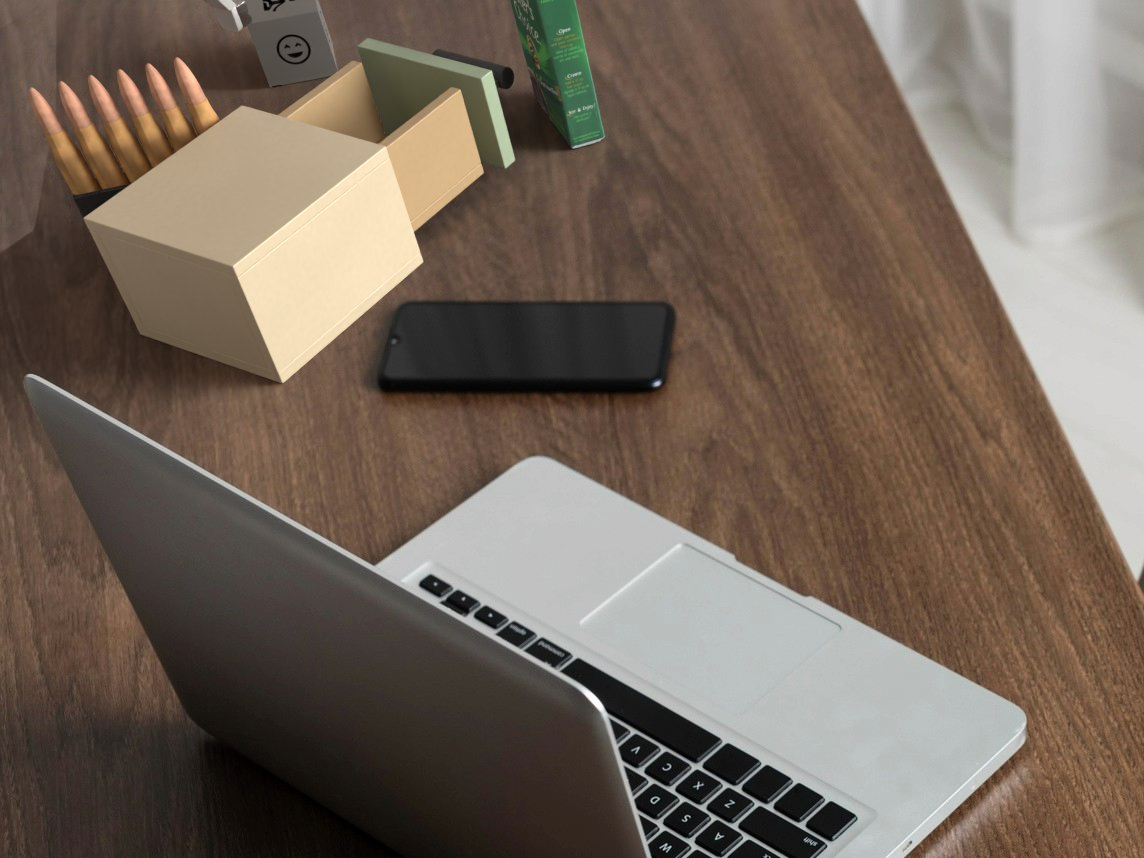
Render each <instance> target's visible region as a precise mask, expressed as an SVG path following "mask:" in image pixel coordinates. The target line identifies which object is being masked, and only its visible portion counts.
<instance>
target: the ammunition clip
mask: <svg viewBox="0 0 1144 858" xmlns="http://www.w3.org/2000/svg"><path fill="white" fill-rule="evenodd" d="M173 65H174V71H175V72H174V73H175V75H176V80H177V83H178V86H179V88H180V92H181V94H182V96H183V99H184V101H185V103H186V107H187V108H188V111H189V113H190V115H191V120H192V122H191V121H190V120H189V118H188V117H187V115H186V114H185V113H184V111H183V109H182V108H181V106H180V103H179V102H178V101H177V99H176V97H175V95H174V93H173V91H172V89H171V88H170V86H169V84H168V83H167V81H166V80H165V78H164V76H162V75H161V73H160V72H159V71H158V70H157V69H156V68H155V67H154V66H153V65H152V64H151V63H150V62H147V63H145V75H146V80H147V84H148V87H149V91H150V94H151V96H152V98H153V101H154V103H155V105H156V107H157V110H158V112H159V115H160V118H161V119H162V122H163V126H164V128H163V127H162V125H161V124H160V123H159V121H158V120H157V119H156V117H155V115H154V113H153V112H152V110H151V108H150V107H149V105H148V102H147V101H146V99H145V97H144V96H143V94H142V92H141V91H140V89H139V88H138V87H137V85H136V84H135V82H134V81H133V80H132V78H131V77H130V76H129V75H128V74H127V73H126V72H125V71H124V70H123V69H121V68H118V69H117V70H116V80H117V83H118V88H119V92H120V95H121V97H122V100H123V104H124V105H125V107H126V109H127V112H128V113H129V116H130V119H131V121H132V123H133V125H134V128H135V131H136V132H134V131H133V130H132V128H131V127H130V126H129V125H128V123H127V121H126V119H125V117H124V116H123V114H122V113H121V112H120V110H119V108H118V105H117V104H116V102H115V101H114V99H113V97H112V96H111V95H110V93H109V92H108V90H107V89H106V88H105V86H104V85H103V84H102V82H100V81H99V80H98V79H97V78H96V77H95V76H93V74H89V75H88V76H87V83H88V88H89V94H90V97H91V100H92V102H93V105H94V107H95V110H96V112H97V114H98V116H99V118H100V120H101V123H102V125H103V127H104V130H105V132H106V135H107V138H108V141H109V142H108V141H107V139H106V138H105V137H104V135H103V134H102V133H101V132H100V130H99V129H98V127H97V125H96V123H95V122H94V120H93V119H92V117H91V116H90V114H89V112H88V111H87V109H86V107H85V105H84V103H82V101H81V99H80V97H78V95H77V94H76V93H75V92H74V91H73V89H71V88H70V86H68V85H67V83H66V82H64V81H62V80H59V81H58V84H57V85H58V93H59V96H60V101H61V103H62V107H63V108H64V111H65V114H66V116H67V118H68V120H69V122H70V125H71V127H72V129H73V132H74V134H75V136H76V138H77V141H78V143H79V145H77V144H76V142H75V141H74V140H73V139H72V137H71V136H70V134H69V133H68V131H67V129H66V128H65V126H64V125H63V124H62V122H61V120H60V118H59V116H58V115H57V114H56V112H55V109H53V107H52V106H51V105H50V104H49V102H48V101H47V100H46V98H45V97H44V96H43V95H42V94H41V93H40V92H39V91H37V89H35V87H32V86H29V88H28V97H29V101H30V102H29V103H30V105H31V108H32V111H33V114H34V117H35V119H36V121H37V124H38V125H39V127H40V129H41V131H42V134H43V136H44V138H45V140H46V142H47V145H48V146H49V150H50V153H51V156H52V158H53V160H54V162H55V164H56V166H57V167H58V169H59V171H60V173H61V175H62V177H63V179H64V180H65V182H66V184H67V186H68V188H69V190H70V191H71V193H72V199H73V201H74V204H75V205H76V208H77V209H78V212H79V214H80V216H81V217H82V220H83V222H84V224H85V226H86V228H87V230H88V232H89V234H90V236H91V238H92V240H93V242H94V244H95V246H96V248H97V250H98V252H99V254H100V256H101V258H102V260H103V263H104V264H105V265H106V263H105V261H104V259H103V257H102V255H101V253H100V251H99V249H98V247H97V245H96V243H95V241H94V239H93V237H92V235H91V233H90V231H89V230H90V229H88V227H87V225H86V223H85V221H84V219H83V218H84V217H85V216H87V215H88V214H90V213H91V212H92V211H94V210H95V209H97V208H98V207H100V206H101V205H102V204H104V203H105V202H107V201H108V200H109V199H111V198H112V197H114V196H115V195H116V194H118V193H119V192H121V191H122V190H123V189H125V188H126V187H128V186H129V185H130V184H132V183H133V182H135V181H136V180H138V179H139V178H140V177H142V176H143V175H145V174H146V173H147V172H149V171H150V170H152V169H153V168H154V167H156V166H157V165H159V164H160V163H161V162H163V161H164V160H166V159H167V158H169V157H170V156H171V155H173V154H174V153H176V152H177V151H178V150H180V149H181V148H183V147H184V146H185V145H187V144H188V143H190V142H191V141H192V140H194V139H195V138H197V137H198V136H199V135H201V134H202V133H204V132H205V131H207V130H208V129H209V128H211V127H212V126H214V125H215V124H216V123H218V122H219V121H221V119H220V117H219V116H218V115H217V113H216V111H215V110H214V109H213V107H212V106H211V104H210V102H209V100H208V98H207V96H206V95H205V93H204V91H203V89H202V87H201V85H200V83H199V82H198V80H197V78H196V76H195V75H194V74H193V72H192V71H191V69H190V68H189V66H187V64H186V63H185V62H184V61H183V60H182V59H181V58H179V57H178V56H175V57H174V60H173ZM135 133H136V134H135ZM136 135H137V136H136ZM79 147H80V148H79Z"/></svg>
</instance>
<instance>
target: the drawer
mask: <svg viewBox="0 0 1144 858" xmlns="http://www.w3.org/2000/svg"><path fill="white" fill-rule="evenodd" d="M356 49H357V52H358V54H359V57H360V61H361V62H360V61H357V60H351V61H350V62H348V63H347V64H346V65H344V66H343V67H341V68H340V69H338V71H337V72H336V73H335V74H333V75H332V76H329V77H327V78H326V79H325V80H324V81H322V82H321V83H320V84H318V85H317V86H315V87H314V88H313V89H312V90H310V91H309V92H307V93H306V94H305V95H303V96H302V97H300V98H299V99H298V100H296V101H295V102H293V103H292V104H291V105H289V106H288V107H286V108H285V109H284V110H282V111H281V112H280V113H278V114H277V115H278V116H281V117H285V118H288V119H292V120H295V121H299V122H302V123H306V124H309V125H313V126H316V127H320V128H323V129H327V130H330V131H334V132H337V133H341V134H344V135H348V136H351V137H355V138H358V139H362V140H365V141H369V142H372V143H376V144H379V145H383V146H385V147H386V149H387V152H388V155H389V158H390V161H391V164H392V167H393V170H394V173H395V176H396V179H397V182H398V185H399V188H400V191H401V194H402V197H403V200H404V204H405V207H406V210H407V213H408V216H409V219H410V222H411V225H412V228H413V231H414V233H415V232H416V231H417V230H418V229H419V228H421V227H422V226H423V225H424V224H426V223H427V222H428V221H429V220H430V219H431V218H433V217H434V216H435V215H436V214H438V212H440V211H441V210H442V209H443V208H444V207H445V206H447V205H448V204H449V203H450V202H451V201H453V200H454V199H455V198H456V197H457V196H458V195H460V194H461V193H462V192H463V191H464V190H465V189H467V188H468V187H469V186H470V185H472V184H473V183H474V182H475V181H476V180H477V179H479V178H480V177H481V176H482V175H484V173H485V172H484V168H483V165H482V163H483V164H487V165H490V166H493V167H496V168H500V169H504V170H506V169H507V168H509V166H511V165H512V164H513V163H514V162H515V161H516V157H515V154H514V149H513V146H512V142H511V138H510V134H509V130H508V126H507V123H506V119H505V116H504V112H503V108H502V103H501V100H500V97H499V96H500V95H499V93H498V88H499V89H502V90H510V89H511V88H512V87H513V85H514V81H515V73H514V70H513V69H512V68H511V67H510V66H506V65H503V64H498V63H494V62H491V61H487V60H483V59H480V58H476V57H472V56H468V55H464V54H460V53H456V52H453V51H449V50H444V49H441V48H437V49H435V50H434V51H433V52H432V54H430V53H428V52H423V51H419V50H415V49H412V48H408V47H405V46H401V45H396V44H392V43H389V42H385V41H381V40H378V39H374V38H370V37H367V38H366V39H365V40H363V41H361V42H360V43H358V44H357V45H356Z"/></svg>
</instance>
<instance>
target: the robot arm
mask: <svg viewBox="0 0 1144 858" xmlns="http://www.w3.org/2000/svg"><path fill="white" fill-rule="evenodd" d="M203 1H204V2H205V3H206V4H207V5H209V6H210V7H212V10H213V13H214V15H215V18H216V20H217V22H218V24H219V25H220V28H222V29H223V30H224V31H229V32H233V33H238V32H240V31H241V30H243V29H245V28H246V27H247V25H249V24H250V23H251V22H252V18H251V16H250V15H249V14H248V8H247V5H246V2H245V1H243V0H203Z"/></svg>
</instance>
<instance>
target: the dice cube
mask: <svg viewBox="0 0 1144 858" xmlns="http://www.w3.org/2000/svg"><path fill="white" fill-rule="evenodd" d="M243 1H245V2H246V5H247V8H248V14H249V15H250V16H251V18H252V22H251V23H250V24H249V25H247V26H246V27H247V29H248V32H249V34H250V37H251V40H252V43H253V45H254V46H253V47H254V48H255V51H256V54H257V56H258V60H259V62H260V64H261V65H260V66H261V67H262V70H263V73H264V76H265V77H266V81H267V83H268V87H270V86H274V85H282V86H287V85H291V84H296V83H302V82H307V81H308V82H309V81H312V80H318V79H323V78H329V77H331V76H332V75H333V74H335V73H336V72H337V71H339V68H338V63H337V58H336V53H335V48H334V43H333V40H332V38H331V37H332V36H331V34H330V31H329V29H328V25H327V22H326V19H325V16H324V14H323V10H322V7H321V4H320V1H319V0H243Z"/></svg>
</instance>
